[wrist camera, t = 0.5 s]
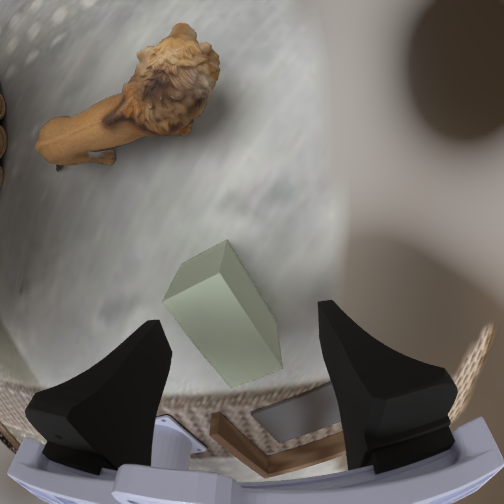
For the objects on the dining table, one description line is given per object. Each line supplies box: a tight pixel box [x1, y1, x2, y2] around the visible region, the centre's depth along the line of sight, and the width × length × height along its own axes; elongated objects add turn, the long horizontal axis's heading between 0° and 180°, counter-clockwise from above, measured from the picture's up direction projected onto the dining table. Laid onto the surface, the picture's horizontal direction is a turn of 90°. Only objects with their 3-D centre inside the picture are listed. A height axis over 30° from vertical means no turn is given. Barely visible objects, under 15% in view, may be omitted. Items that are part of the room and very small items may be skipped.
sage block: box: [162, 240, 283, 388], centre depth 20 cm, size 4×8×6 cm, turn 28°
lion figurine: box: [35, 23, 220, 172], centre depth 14 cm, size 15×5×9 cm, turn 111°
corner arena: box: [209, 382, 346, 478], centre depth 28 cm, size 16×12×3 cm
